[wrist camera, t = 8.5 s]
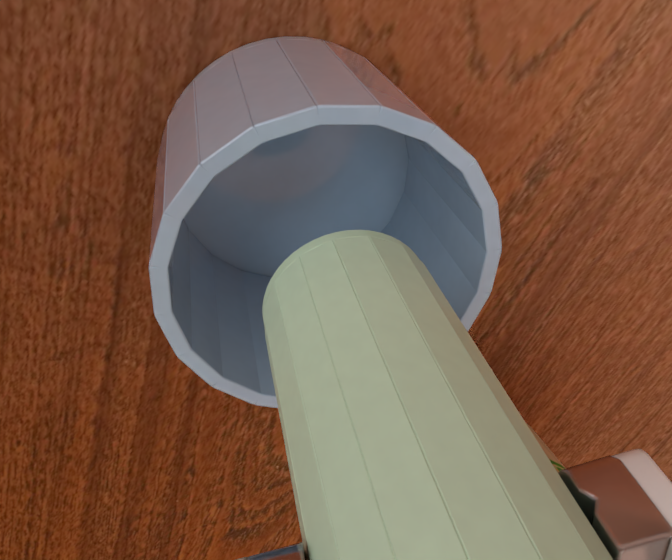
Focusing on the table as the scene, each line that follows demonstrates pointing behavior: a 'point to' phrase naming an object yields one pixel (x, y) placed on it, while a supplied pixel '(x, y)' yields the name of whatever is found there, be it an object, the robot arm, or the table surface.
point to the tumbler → (300, 196)
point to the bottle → (403, 418)
